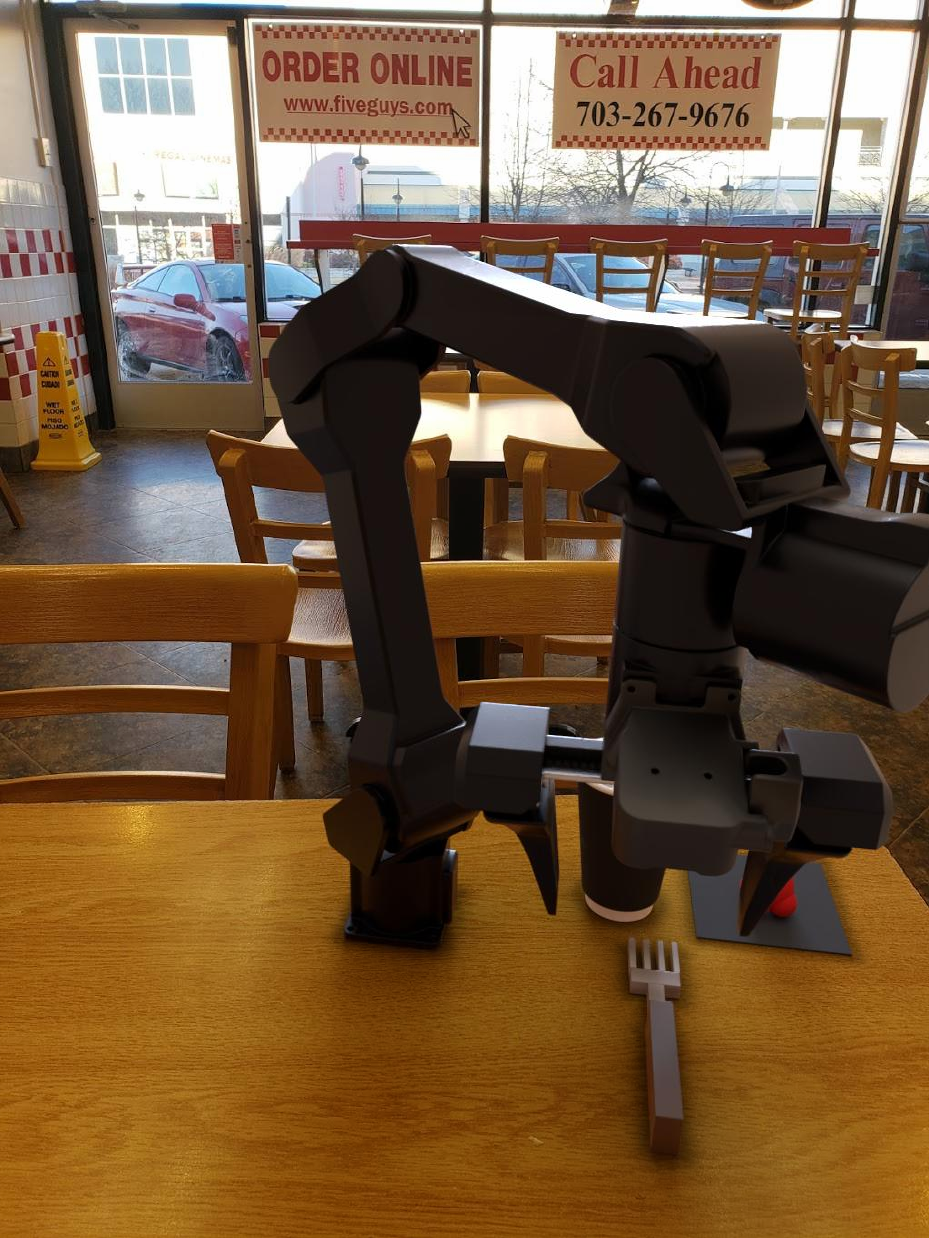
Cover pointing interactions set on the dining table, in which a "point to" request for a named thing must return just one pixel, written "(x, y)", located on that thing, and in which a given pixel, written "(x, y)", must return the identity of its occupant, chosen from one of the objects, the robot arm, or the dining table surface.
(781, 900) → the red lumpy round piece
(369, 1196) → the dining table surface
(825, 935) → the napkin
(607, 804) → the dixie cup
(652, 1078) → the fork
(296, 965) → the dining table surface
